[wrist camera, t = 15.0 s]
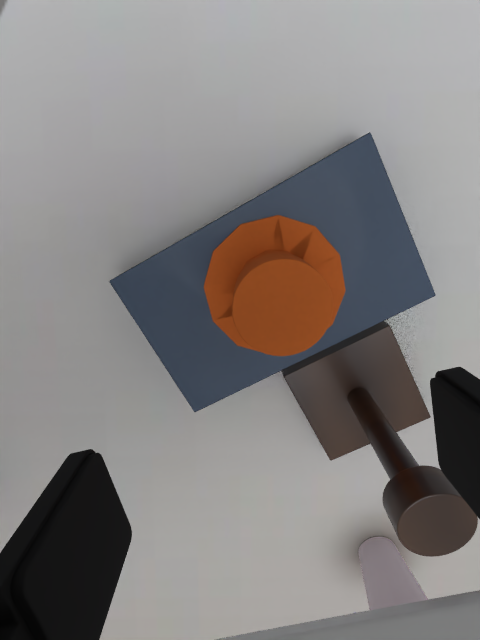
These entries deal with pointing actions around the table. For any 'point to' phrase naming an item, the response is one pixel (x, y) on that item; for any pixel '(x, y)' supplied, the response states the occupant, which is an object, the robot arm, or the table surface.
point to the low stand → (298, 204)
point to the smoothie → (387, 575)
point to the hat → (275, 285)
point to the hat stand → (382, 433)
